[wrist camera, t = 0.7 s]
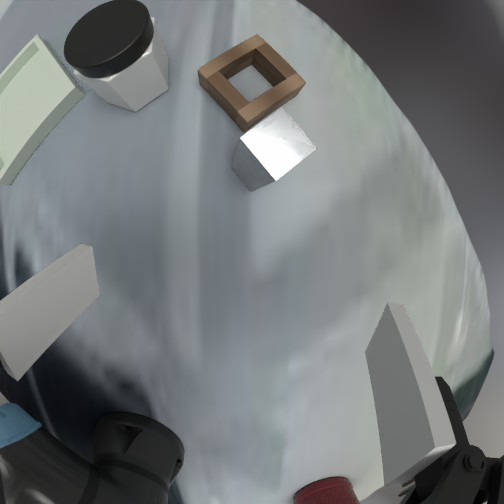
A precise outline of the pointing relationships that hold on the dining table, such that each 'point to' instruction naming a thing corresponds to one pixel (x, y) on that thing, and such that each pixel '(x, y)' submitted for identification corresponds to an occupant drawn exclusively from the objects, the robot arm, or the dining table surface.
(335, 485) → the canister
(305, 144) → the gray rectangular bar
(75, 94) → the tray
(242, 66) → the wooden square frame
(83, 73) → the jar
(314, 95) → the dining table surface
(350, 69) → the dining table surface
